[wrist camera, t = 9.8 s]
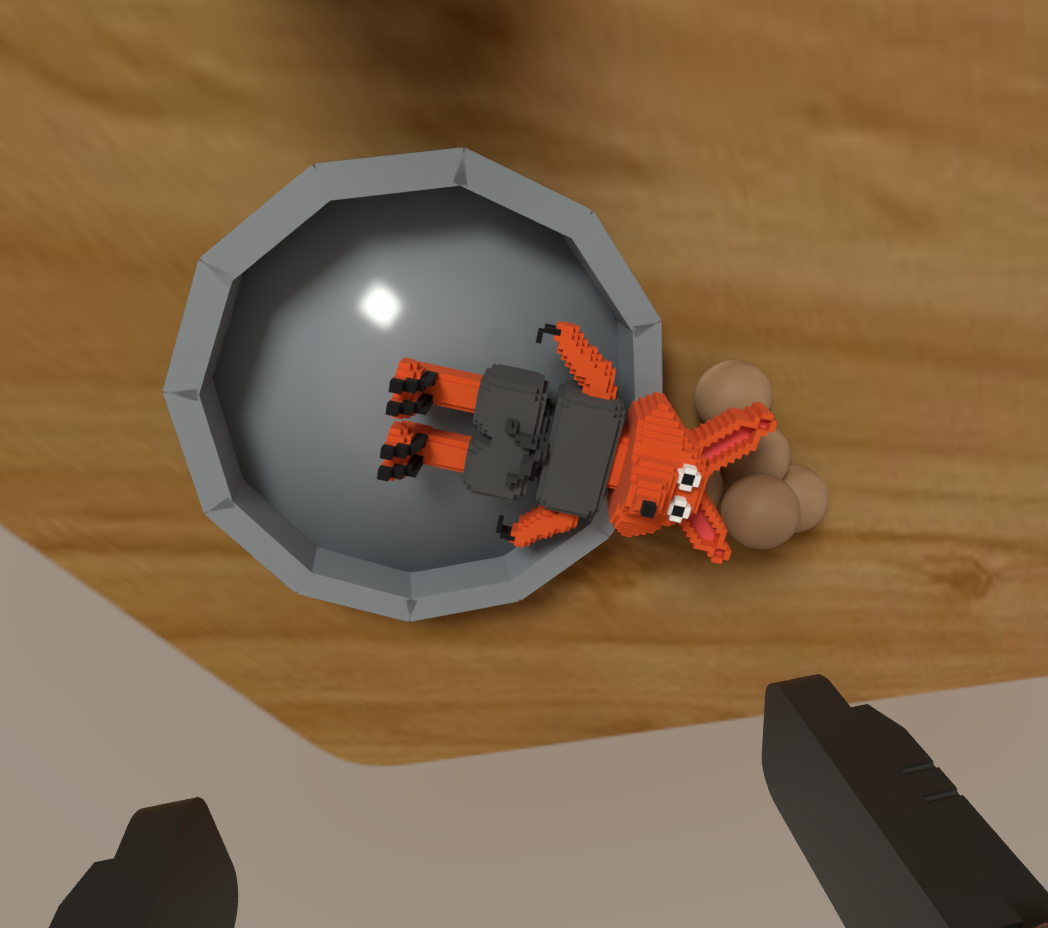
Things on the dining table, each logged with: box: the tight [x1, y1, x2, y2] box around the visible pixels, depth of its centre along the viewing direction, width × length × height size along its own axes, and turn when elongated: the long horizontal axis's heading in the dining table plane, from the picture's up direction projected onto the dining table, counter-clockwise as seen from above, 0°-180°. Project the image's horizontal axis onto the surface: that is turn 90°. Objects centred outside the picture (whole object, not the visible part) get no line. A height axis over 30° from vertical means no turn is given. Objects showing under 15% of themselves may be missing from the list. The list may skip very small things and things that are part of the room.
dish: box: [163, 147, 663, 622], centre depth 24 cm, size 16×16×2 cm
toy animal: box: [377, 321, 778, 564], centre depth 22 cm, size 8×6×12 cm
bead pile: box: [694, 360, 829, 549], centre depth 26 cm, size 7×8×5 cm
